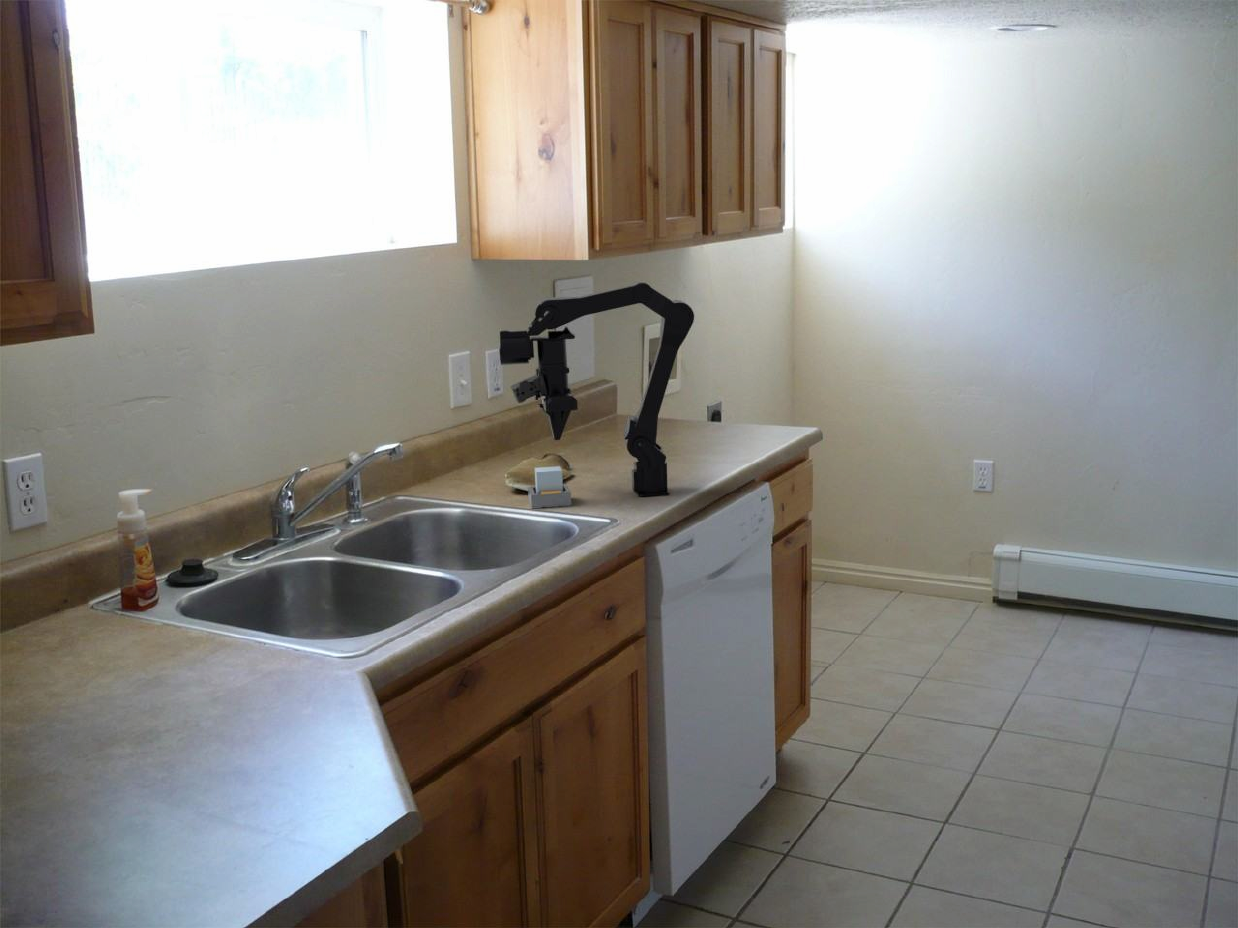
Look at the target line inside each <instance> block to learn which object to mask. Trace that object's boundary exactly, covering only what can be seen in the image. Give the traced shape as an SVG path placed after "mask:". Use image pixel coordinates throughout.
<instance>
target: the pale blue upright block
mask: <svg viewBox="0 0 1238 928" xmlns="http://www.w3.org/2000/svg"><path fill="white" fill-rule="evenodd" d="M563 484H564V483H563V480H562V470H561V468H560V466H556V467H541V468H535V485H536V493H540V492H542V491H556V490H561V492H563Z"/></svg>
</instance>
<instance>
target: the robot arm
mask: <svg viewBox="0 0 1238 928" xmlns="http://www.w3.org/2000/svg"><path fill="white" fill-rule="evenodd" d="M637 304H642V305H643V306H645V307H646V308H648V309H650V310H651V311H652V312H654V313H655V314H657V315H659V316H660V317H661V319H660V328H659V329H660V330H659V331H660V332H659V343H658V347H657V350H656V353H655V356H654V359H653V360H654V361H653V363H652V367H651V369H650V373H649V377H648V380H647V384H646V386H645V389H644V390H645V391H644V393H643V397H642V400H641V403H640V407H639V409H638V411H637V412H636V414H635V415H634V416H632V415H631V414H628V415H627V419H626V420H627V422H626V426H625V429H624V430H623V431H622V435H623V438H624V443H625V446H626V449H627V451H628V453H629V455H630V456H631V457H633V458H635V459H636V461H633V469H631V490H632V491H633V492H634V493H635V494H636V496H638V497H651V496H663V495H670V490H669V489H668V463H667V462H666V460H667V456H666V453H665V451H664V449H663V447H662V446H661V445H660V444H658V443H657V442H656V441H657V435H658V424H659V423H658V421H659V414H660V410H661V407H662V403H663V401H664V397H665V394H666V390H667V389H668V388H667V387H668V384H669V381H670V378H671V374H672V371H673V368H674V364H675V360H676V357H677V355H678V352H679V349H680V347H681V346H682V344H683V342H684V341H685V339H686V338H687V335H688V334H689V332H690V329H691V328H692V327H693V326H692V325H693V324H694V320H695V312H694V311H693V309H692V307H691V306H690V305H688V304H687V302H685V301H683V300H681V299H680V300H679V299H673V300H671V299H669V298H668V297H667V296H666V295H664V294H662V293H660V292H659V291H657V290H656V289H654V288H653V287H651V285H650V284H649V283H647V282H645V281H638V282H636V283H634V284H629V285H625V286H621V287H616V288H612V289H611V288H610V289H607V290H603V291H598V292H595V293H594V292H593V293H590V294H586V295H581V296H558V297H557V296H556V297H555V296H554V297H553V296H552V297H546V298H543V299H541V300H540V301H539V302H538V303H537V305H536V306H535V312H534V313H535V315H534V316H535V317H534V319H533V320H532V322H531V323H529V324H528V328H527V329H520V330H519V329H518V330H517V329H515V330H510V329H501V330H499V361H500V362H499V363H500V366H508V365H509V366H510V365H529V364H530V360H532V359H535V347H534V346H535V343H534V342H536V348H537V349H536V350H537V351H536V352H537V362H538V363H537V365H538V366H537V367H536V368H535V374H534V375H532V376H530V377H527V378H525V379H523V380H520V381H518V382H516V383H514V384H512V385H510V390H511V391H512V394H513V396H514V398H515V401H516V402H517V403H518V404H522V403H524V402H526V400H528V399H530V398H532V397H533V399H534V400H535V401H539V399H541V401H542V402H541V403H538V405H537V406H538V407H539V408H540V409H541V410H542V411H543V412H544V413H545V414H546V417H547V418H548V422H549V426H550V429H551V434H552V436H553V440H554V441H560V440H561V438H562V436H563V435H562V434H563V432H564V430H565V427H566V424H567V422H568V419H569V417H570V414H571V411H577V410H579V409H578V406H579V405H578V400H577V398H576V397H574V396H573V395H572V394H571V388H570V387H569V374H570V367H569V366H568V355H567V352H568V351H567V340H574V339H576V336H575V335H576V334H575V333H574V332H572V331H571V330H570V329H569V327H568V326H566V325H567V324H569V323H572V322H573V321H575V320H577V319H580V318H582V317H585V316H588V315H593V314H597V313H603V312H606V311H611V310H615V309H619V308H625V307H629V306H632V305H633V306H634V305H637ZM564 325H565V326H564ZM562 326H564V328H563V329H562V330H555V329H557V328H560V327H562ZM546 330H548V331H547V335H543V336H542V335H541V334H542V333H543V332H545V331H546ZM539 335H541V336H539Z"/></svg>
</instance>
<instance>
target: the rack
mask: <svg viewBox="0 0 1238 928" xmlns="http://www.w3.org/2000/svg"><path fill="white" fill-rule="evenodd" d="M527 494H528V495H527V496H528V498H527V499H528V503H529V502H530V503H529V505H530V508H531V507H532V508H535V509H543V508H542V507H548V508H557V507H558V508H560V507H559V506H562V507H572V493H571V490H570V488H569V486H568V484H567V483H563V492H561V490H556V491H542V492H540V493H536V486H534V487H528V491H527ZM532 508H531V509H532Z"/></svg>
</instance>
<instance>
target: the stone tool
mask: <svg viewBox="0 0 1238 928" xmlns="http://www.w3.org/2000/svg"><path fill="white" fill-rule="evenodd" d="M556 466H560V468H561V470H562V481H564V479H565V480H568V479H569V478H570V477H571V476H572V473H573V471H571V470H568V469H570V467H571V465H570V464H569V462H568V461H567V459H565V458H564V457H563V456H562V455H561V454H556V453H546V454H544V455H543V456H542V457H541V458H540V459H537V458H534V457H530V459H525V460H523V461H522V462H520V463H518V464H517V465H515V466H513V467H512V468H510V469H509V470H508V471H506V473H505V474H504V477H505V478H504V481H505V485H506V486H507V487H509V488H514V489H518V490H521V491H526V492H528V487H534V486H536V485H535V468H541V467H556ZM567 478H568V479H567Z"/></svg>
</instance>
